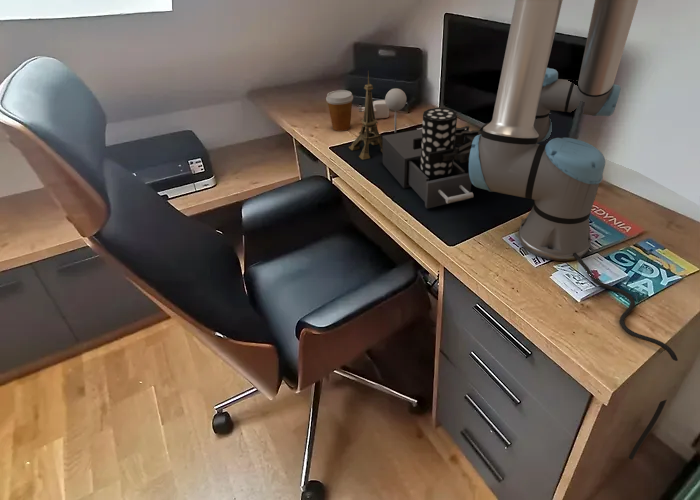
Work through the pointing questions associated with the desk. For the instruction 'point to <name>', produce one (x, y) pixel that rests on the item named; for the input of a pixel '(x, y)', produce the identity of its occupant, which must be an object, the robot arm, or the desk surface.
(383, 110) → the power adapter
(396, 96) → the lollipop
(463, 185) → the drawer
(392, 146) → the cabinet
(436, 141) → the white-spotted black cylinder
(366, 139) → the eiffel tower
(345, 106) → the disposable coffee cup
